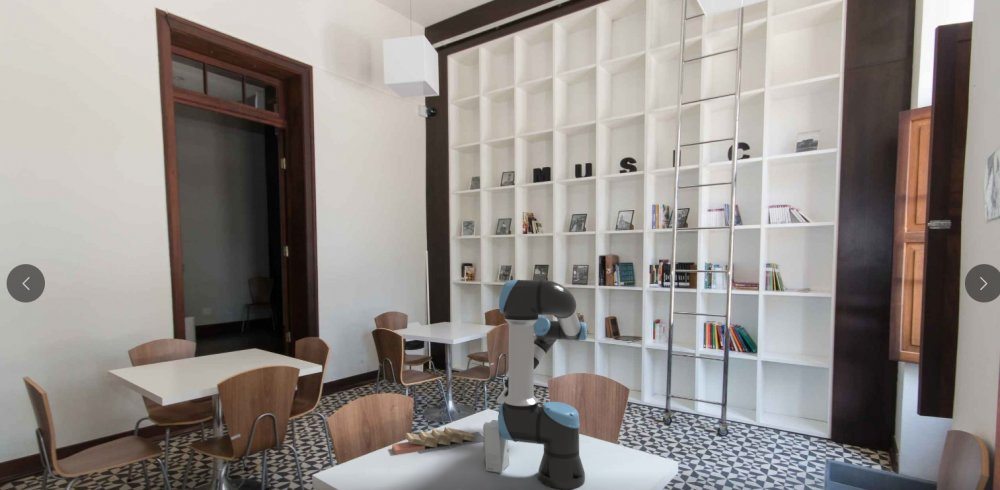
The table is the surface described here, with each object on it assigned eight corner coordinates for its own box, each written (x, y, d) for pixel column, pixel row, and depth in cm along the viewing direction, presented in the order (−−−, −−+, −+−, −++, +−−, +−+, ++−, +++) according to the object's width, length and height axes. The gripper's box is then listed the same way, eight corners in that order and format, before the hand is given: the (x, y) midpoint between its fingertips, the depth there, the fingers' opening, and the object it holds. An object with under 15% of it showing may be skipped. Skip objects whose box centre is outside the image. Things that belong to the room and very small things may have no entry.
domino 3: (445, 435, 176) (420, 430, 172) (450, 441, 170) (424, 436, 166) (444, 439, 176) (418, 434, 171) (449, 445, 170) (423, 440, 166)
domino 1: (420, 439, 172) (392, 444, 167) (425, 445, 166) (395, 450, 161) (420, 444, 171) (392, 448, 167) (424, 449, 166) (395, 455, 161)
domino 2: (432, 437, 174) (406, 432, 169) (437, 443, 168) (410, 438, 164) (431, 441, 173) (405, 436, 169) (436, 447, 168) (409, 442, 164)
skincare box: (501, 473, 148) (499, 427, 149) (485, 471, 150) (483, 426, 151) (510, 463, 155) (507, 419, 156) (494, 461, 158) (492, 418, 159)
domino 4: (457, 433, 178) (432, 428, 174) (462, 439, 173) (437, 434, 168) (456, 437, 178) (431, 433, 173) (461, 443, 172) (435, 438, 168)
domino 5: (469, 431, 180) (445, 427, 176) (474, 437, 175) (449, 432, 170) (468, 435, 180) (443, 431, 176) (473, 441, 174) (448, 436, 170)
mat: (478, 432, 184) (478, 431, 184) (488, 442, 175) (488, 441, 175) (411, 443, 173) (411, 442, 173) (419, 454, 163) (419, 453, 163)
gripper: (546, 365, 186) (512, 412, 178) (530, 359, 197) (498, 403, 189) (535, 353, 183) (500, 401, 176) (520, 348, 195) (486, 392, 187)
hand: (499, 402), depth 182 cm, fingers closed
